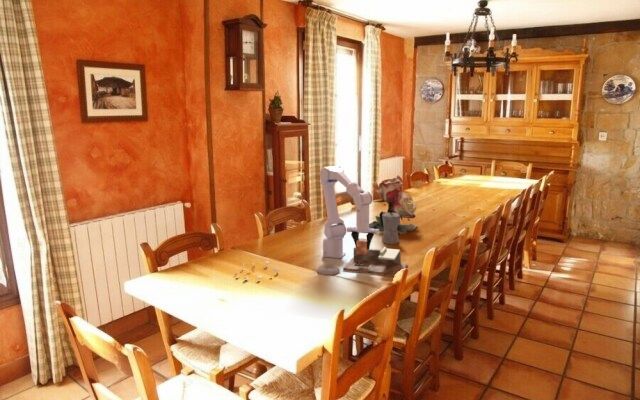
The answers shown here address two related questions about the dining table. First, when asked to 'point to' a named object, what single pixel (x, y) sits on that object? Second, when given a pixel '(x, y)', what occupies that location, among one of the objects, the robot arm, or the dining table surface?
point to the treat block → (362, 246)
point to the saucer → (328, 270)
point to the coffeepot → (390, 227)
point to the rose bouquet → (395, 205)
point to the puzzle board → (374, 263)
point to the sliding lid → (388, 254)
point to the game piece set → (259, 276)
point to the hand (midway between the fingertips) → (362, 248)
